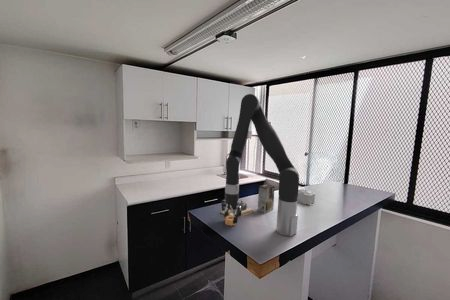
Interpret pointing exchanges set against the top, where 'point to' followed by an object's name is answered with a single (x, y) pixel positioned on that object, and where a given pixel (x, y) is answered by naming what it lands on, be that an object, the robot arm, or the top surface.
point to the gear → (229, 220)
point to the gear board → (244, 210)
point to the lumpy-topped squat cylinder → (306, 196)
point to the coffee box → (266, 198)
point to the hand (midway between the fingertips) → (230, 221)
